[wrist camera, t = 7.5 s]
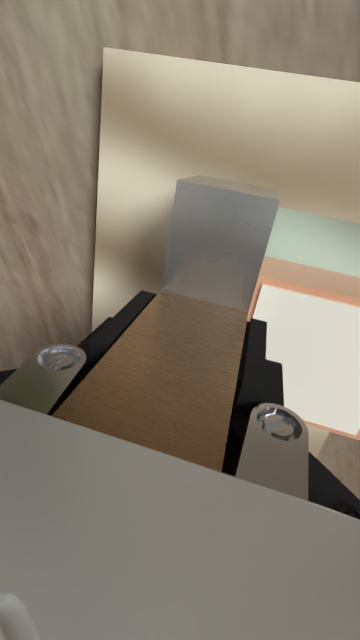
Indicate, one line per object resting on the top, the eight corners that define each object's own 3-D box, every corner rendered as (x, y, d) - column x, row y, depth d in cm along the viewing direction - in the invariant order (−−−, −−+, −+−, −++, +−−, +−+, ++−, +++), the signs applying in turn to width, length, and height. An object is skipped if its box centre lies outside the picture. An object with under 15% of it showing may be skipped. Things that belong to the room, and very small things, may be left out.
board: (114, 54, 14) (103, 47, 13) (479, 106, 12) (496, 101, 11) (96, 389, 22) (88, 399, 21) (309, 455, 20) (311, 469, 19)
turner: (200, 175, 13) (39, 208, 4) (278, 190, 12) (290, 263, 4) (164, 380, 17) (54, 603, 9) (220, 396, 17) (164, 649, 8)
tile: (259, 254, 15) (256, 275, 12) (401, 286, 14) (433, 316, 11) (229, 364, 18) (221, 401, 15) (345, 396, 17) (360, 442, 14)
